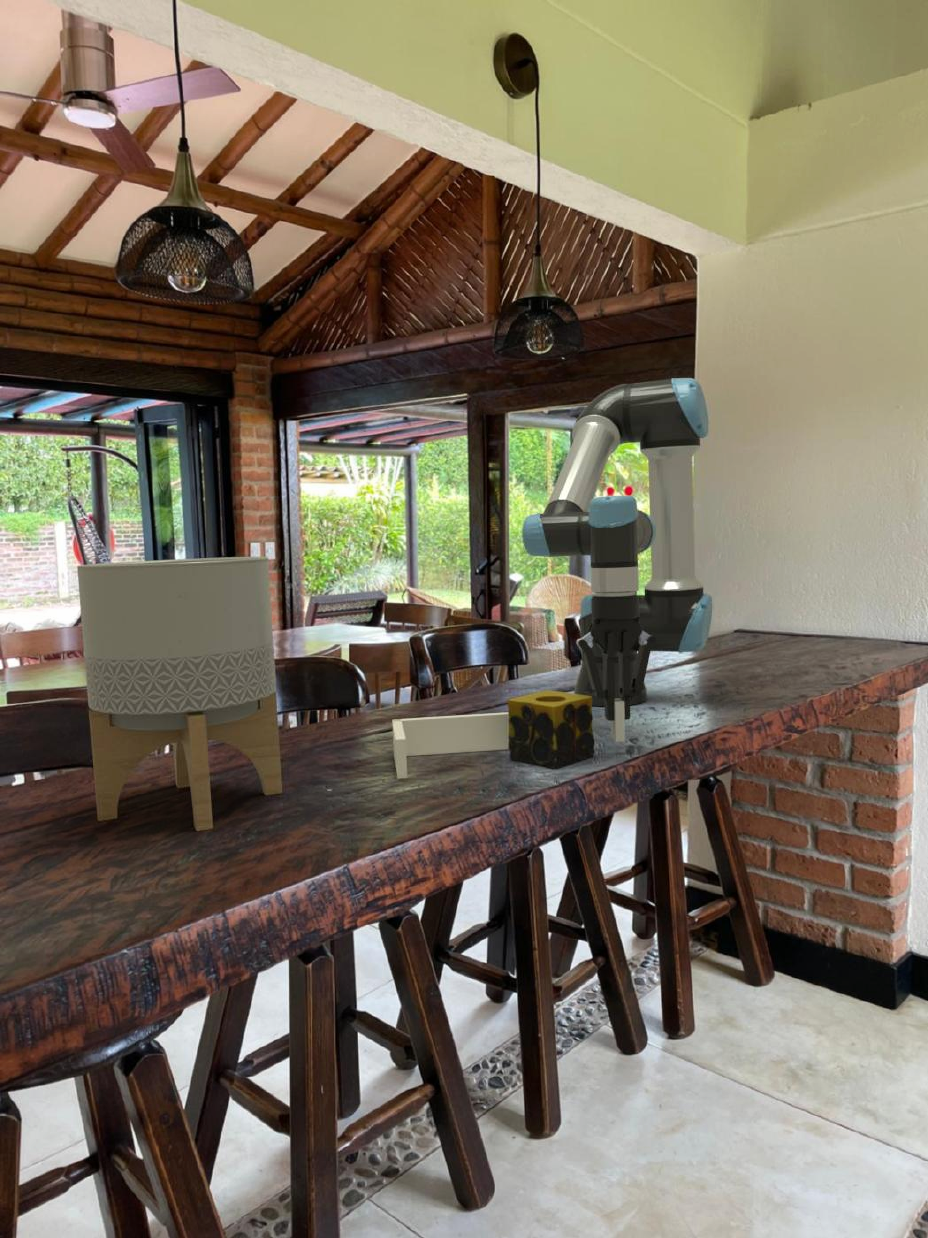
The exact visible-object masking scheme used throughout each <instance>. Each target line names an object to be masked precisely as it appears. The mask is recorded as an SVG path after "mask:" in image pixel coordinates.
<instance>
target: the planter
mask: <svg viewBox="0 0 928 1238" xmlns="http://www.w3.org/2000/svg"><path fill="white" fill-rule="evenodd" d="M76 567H77V581H78V592H79V593H78V595H79V605H80V616H81V618H80V619H81V627H82V629H81V630H82V642H83V655H84V666H85V678H86V691H87V693H86V694H87V702H88V707H89V708H90V709H89V710H88V717H89V729H90V741H91V743H90V744H91V753H92V765H93V767H92V768H93V778H94V789H95V790H94V791H95V801H96V814H97V821H98V822H101V821H103V822H104V821H109V820H115V819H118V804H119V800H120V797H121V794H122V790H123V787H124V786H125V783H126V781H127V779H128V778H129V776H130V775H131V773H132V772H133V771H134V769H135V768H136V767H137V766H138V765H139V764H140V763H141V762H142V761H144V759H146V758H147V757H148V756H150V755H151V754H152V753H154V752H157V750H158V751H159V750H160V749H161V748H164V747H167V746H169V745H172V749H173V761H174V762H173V763H174V776H175V778H174V779H175V786H176V788H177V789H184V788H189V787H190V794H191V795H190V796H191V798H190V799H191V804H192V805H191V806H192V815H193V826H194V829H195V830H196V832H201V831H207V830H212V829H214V823H213V822H214V821H213V820H214V819H213V811H212V810H213V809H212V795H211V794H212V793H211V792H212V791H211V781H210V780H211V779H210V767H209V766H210V764H209V751H208V750H209V749H208V741H217V742H220V743H223V744H226V745H228V746H231V747H233V748H235V749H237V750H238V751H240V752H241V753H242V754H244V755H245V757H247V758H248V759H249V761H251V763H252V764H253V766H254V768H255V769H256V772H257V774H258V776H259V779H260V783H261V787H262V793H263V794H264V796H273V795H278V794H279V795H280V794H282V793H283V784H282V783H283V782H282V771H281V770H282V769H281V768H282V767H281V752H280V751H281V749H280V735H279V721H278V719H279V718H278V703H277V700H278V699H277V681H276V680H277V679H276V664H275V648H274V647H275V646H274V634H273V633H274V631H273V616H272V615H273V614H272V602H271V601H272V599H271V584H270V567H269V557H268V556H231V557H228V556H227V557H205V558H202V557H201V558H181V559H178V558H177V559H176V558H175V559H160V560H157V559H156V560H142V561H140V560H137V561H124V562H122V561H120V562H106V563H104V562H103V563H102V562H101V563H91V564H80V565H77V566H76Z"/></svg>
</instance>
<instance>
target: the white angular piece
mask: <svg viewBox="0 0 928 1238" xmlns="http://www.w3.org/2000/svg"><path fill="white" fill-rule="evenodd" d="M508 712H509V711H508ZM508 712H507V711H506V712H494V713H493V712H492V713H476V714H459V715H447V716H446V715H444V716H429V717H428V716H427V717H414V718H398V719H397V718H396V719H394V718H393V719H391V721H392V722H391V723H392V724H391V725H392V741H393V743H392V744H393V757H394V763H395V764H394V765H395V772H396V778H397V780H399V779H408V765H407V764H408V763H407V757H414V756H428V755H442V754H443V755H444V754H457V753H458V754H459V753H461V754H462V753H471V752H472V753H473V752H489V751H502V750H509V747H508V743H509V739H508V736H509V714H508Z"/></svg>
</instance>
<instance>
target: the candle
mask: <svg viewBox="0 0 928 1238" xmlns="http://www.w3.org/2000/svg"><path fill="white" fill-rule="evenodd" d="M507 708H508V714H509V736H508V739H509V743H508V747H509V749H508V751H509V758H510V760H512V761H515V762H520V763H525V764H530V765H535V766H538V765H539V767H545V768H550V769H559V768H563V767H566V766H567V765H571V764H572V765H573V764H575V763H577V762H581V761H583V760H586V759H589V758H593V756H595V748H594V747H595V737H594V729H593V719H594V716H593V711H592V710H593V709H592V708H593V705H592V696H587V695H579V694H574V693H572V692H563V691H557V690H549V689H545V690H542V691H539V692H534V693H529V694H525V695H521V696H517V697H513V698H511V699H510V698H509V699H508V700H507Z"/></svg>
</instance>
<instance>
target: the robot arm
mask: <svg viewBox="0 0 928 1238" xmlns="http://www.w3.org/2000/svg"><path fill="white" fill-rule="evenodd" d="M708 435H709V415H708V409H707V403H706V398H705V395H704V392H703V389H702V387H701V384H700V382H698V380H697V379H695V378H692V377H679V378H678V377H677V378H675V377H674V378H673V377H672V378H667V379H659V380H658V379H657V380H651V381H643V382H634V383H623V384H618V385H616V386H613V387H610V388H608V389H607V390H605V391H603V392H602V393H600V394H599V395H597V396H596V397H595V398H593V400H591V401H590V403H588V404H587V405H586V407H585V408H583V410H582V412H580V414H579V415H578V417H577V418H576V421H575V423H574V425H573V428H572V431H571V437H572V438H571V439H572V444H571V445H570V447H569V448H570V449H569V451H568V453H567V456H566V458H565V461H564V463H563V466H562V467H561V470H560V473H559V475H558V478H557V479H556V483H555V485H554V488H553V490H552V492H551V494H550V497H549V499H548V502H547V503H546V506H545V509H544V510H543V513H541V512H537V513H533V514H530V515H527V516H526V517H525V518H524V521H523V524H522V528H521V529H522V531H521V534H522V537H521V538H522V542H523V547H524V549H525V551H526V553H527V554H528V555H530V556H532V557H547V558H556V557H557V558H558V557H559V558H560V557H577V556H580V557H581V556H590V592H592V593H591V594H587V595H585V596H583V598H581V601H580V616H579V619H580V638H577V639H576V640H575V644H576V646H577V647H578V649H579V651H581V666H580V670H579V673H578V676H577V679H576V682H575V687H574V690H573V691H574V693H573V694H579V695H587V696H592V706H597V707H604V716H605V719H606V720H607V721H610V729H611V730H610V733H611V734H610V736H611V738H610V739H612V741H614V742H616V743H618V742H620V743H622V742H626V727H625V724H626V723H625V721H626V720H630V719H631V705H632V706H633V705H638V704H642V703H644V702H646V701H647V700H648V692H647V686H646V684H645V680H646V679H645V678H646V674H647V669H648V665H649V659H650V655H651V652H667V653H669V652H673V653H676V652H677V653H679V654H683V653H692V652H693V653H694V652H699V651H701V650H702V649H703V648H705V646H706V644H707V641H708V639H709V635H710V631H711V630H710V629H711V625H712V623H711V622H712V617H713V597H712V596H711V595H710V594H708V593H704V584H703V583H702V582H701V581H700V580H699V579H698V578H697V577H696V559H695V558H696V557H695V514H694V513H695V512H694V510H695V509H694V507H695V506H694V505H695V504H694V471H693V469H694V468H693V464H694V463H693V457H694V455H695V454H696V453H697V451H699V450H700V449H701V439H703V438H706V437H708ZM630 443H631V444H632V443H633V444H634V443H639V451H640V453H641V454H643V456H644V457H646V459H647V462H648V463H647V464H648V466H647V467H648V490H649V491H648V493H649V494H648V495H649V496H648V497H649V498H648V499H649V514H648V513H646V512H645V511H642V510H639V509H638V504H637V503H638V501H637V499H636V497H635V496H632V495H612V496H610V495H609V496H596V497H595V495H596V493H597V490H598V488H599V485H600V482H601V479H602V477H603V473H604V471H605V468H606V467H607V463H608V461H609V457H610V455H612V454H614V453H615V452H616V451H617V449H618V447H619V446H620V445H623V444H630ZM649 548H650V557H651V558H650V559H651V560H650V561H651V562H650V563H651V565H650V566H651V579H650V580H649V582H647V583H646V585H644V594H643V595H642V594H638V592H639V589H640V584H639V583H640V581H639V554H641V553H644V552H646V551H647V550H648V549H649Z"/></svg>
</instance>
